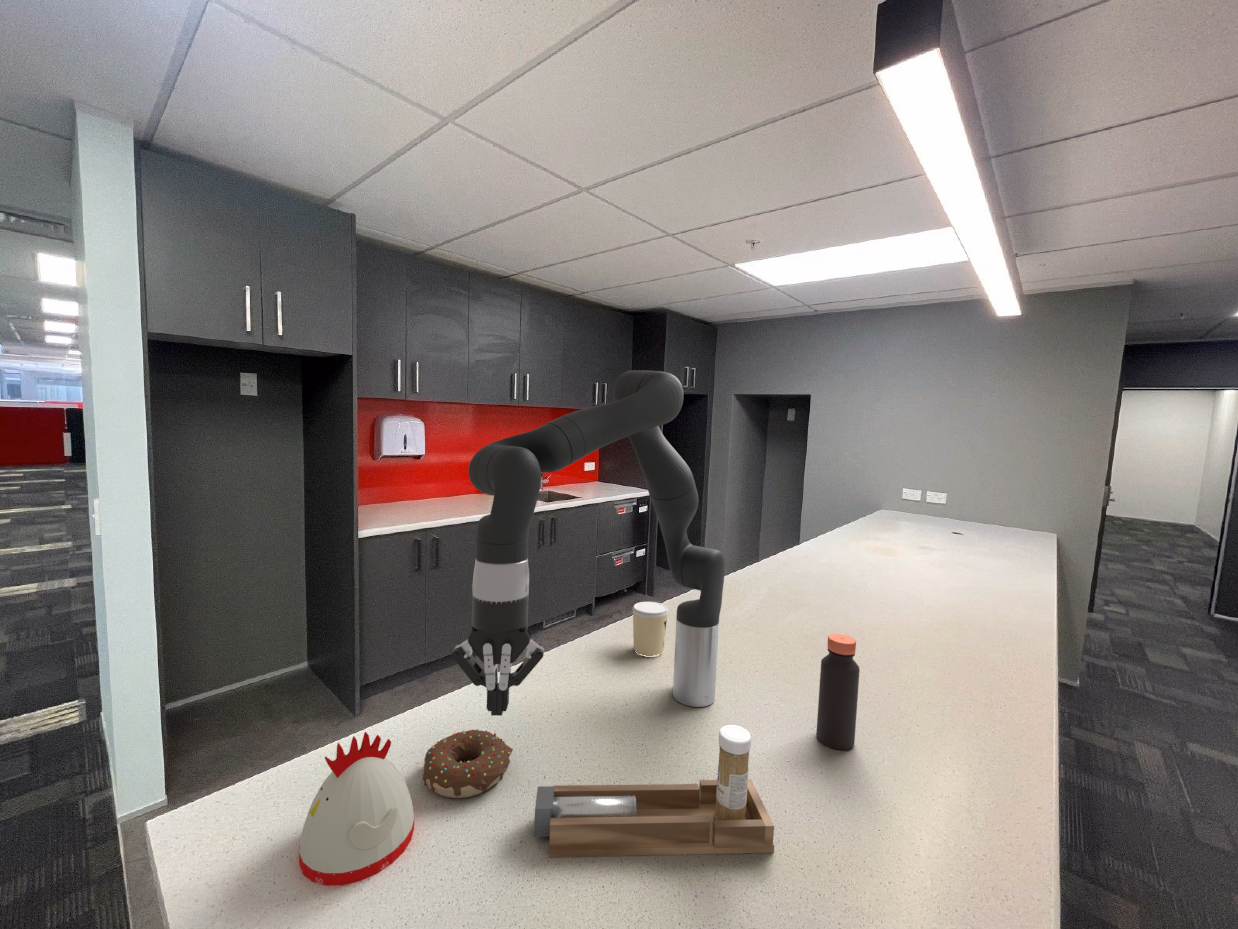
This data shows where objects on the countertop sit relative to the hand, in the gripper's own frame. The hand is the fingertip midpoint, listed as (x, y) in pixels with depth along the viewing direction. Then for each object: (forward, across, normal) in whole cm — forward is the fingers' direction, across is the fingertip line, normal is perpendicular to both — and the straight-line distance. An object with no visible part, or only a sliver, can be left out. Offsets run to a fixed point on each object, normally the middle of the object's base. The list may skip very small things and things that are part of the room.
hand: (497, 712), depth 70 cm
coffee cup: (+18, -30, -60) cm, 69 cm away
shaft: (+16, -13, 0) cm, 21 cm away
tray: (+18, -23, 0) cm, 29 cm away
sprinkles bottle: (+17, -34, 0) cm, 38 cm away
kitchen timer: (+18, +18, +1) cm, 25 cm away
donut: (+18, +6, -12) cm, 23 cm away
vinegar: (+18, -61, -21) cm, 67 cm away
